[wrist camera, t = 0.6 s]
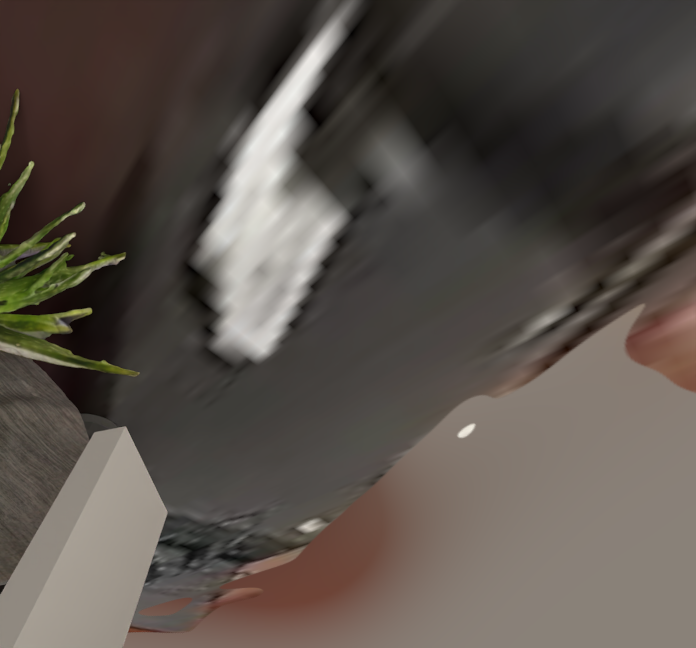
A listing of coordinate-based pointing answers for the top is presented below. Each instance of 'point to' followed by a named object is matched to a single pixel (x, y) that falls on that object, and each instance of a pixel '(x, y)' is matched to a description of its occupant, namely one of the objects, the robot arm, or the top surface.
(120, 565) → the robot arm
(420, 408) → the top surface
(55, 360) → the disc
